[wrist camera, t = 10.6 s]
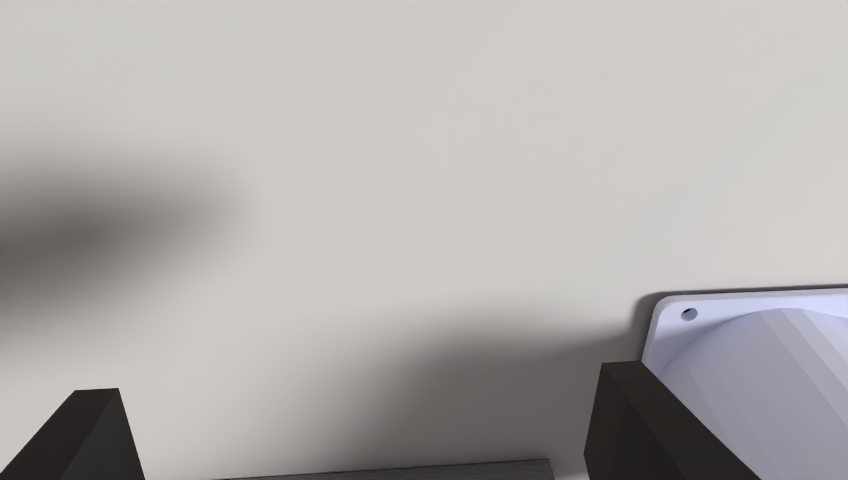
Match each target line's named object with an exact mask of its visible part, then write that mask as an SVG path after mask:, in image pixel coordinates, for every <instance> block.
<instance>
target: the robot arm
mask: <svg viewBox="0 0 848 480" xmlns="http://www.w3.org/2000/svg"><path fill="white" fill-rule="evenodd" d="M689 308H691V310H689V311H688V312H686V313H682V312H683V311H685V310H686V309H689ZM584 457H585V462H586V466H587V470H588V474H589V478H590V480H848V288H836V289H813V290H790V291H768V292H745V293H722V294H699V295H676V296H668V297H665V298H663V299H661V300H660V301H659V302H658V303H657V304H656V306H655V308H654V311H653V315H652V319H651V323H650V328H649V332H648V336H647V340H646V344H645V348H644V352H643V356H642V361H629V362H610V363H602V366H601V371H600V376H599V381H598V386H597V391H596V395H595V400H594V405H593V410H592V415H591V420H590V425H589V430H588V435H587V440H586V445H585V450H584ZM0 480H145V477H144V474H143V471H142V467H141V464H140V460H139V457H138V454H137V450H136V447H135V443H134V440H133V436H132V433H131V430H130V426H129V423H128V419H127V416H126V412H125V409H124V406H123V402H122V399H121V395H120V392H119V388H111V389H92V390H75V391H74V392H73V393H72V394H71V395H70V396H69V397H68V398H67V399H66V400H65V401H64V402H63V404H62V405H61V406H60V407H59V408H58V409H57V410H56V411H55V412H54V414H53V415H52V416H51V417H50V418H49V419H48V420H47V421H46V423H45V424H44V425H43V426H42V427H41V428H40V429H39V431H38V432H37V433H36V434H35V435H34V436H33V437H32V438H31V440H30V441H29V442H28V443H27V444H26V445H25V446H24V447H23V449H22V450H21V451H20V452H19V453H18V454H17V455H16V456H15V458H14V459H13V460H12V461H11V462H10V463H9V464H8V465H7V466H6V468H5V469H4V470H3V471H2V472H1V473H0Z"/></svg>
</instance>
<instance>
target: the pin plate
mask: <svg viewBox="0 0 848 480" xmlns="http://www.w3.org/2000/svg"><path fill="white" fill-rule="evenodd" d="M231 480H555V479H554V476H553V473H552V469H551V466H550V462H549V459H546V460H530V461H514V462H499V463H483V464H467V465H451V466H436V467H420V468H404V469H388V470H372V471H357V472H341V473H325V474H309V475H294V476H278V477H262V478H246V479H231Z"/></svg>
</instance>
